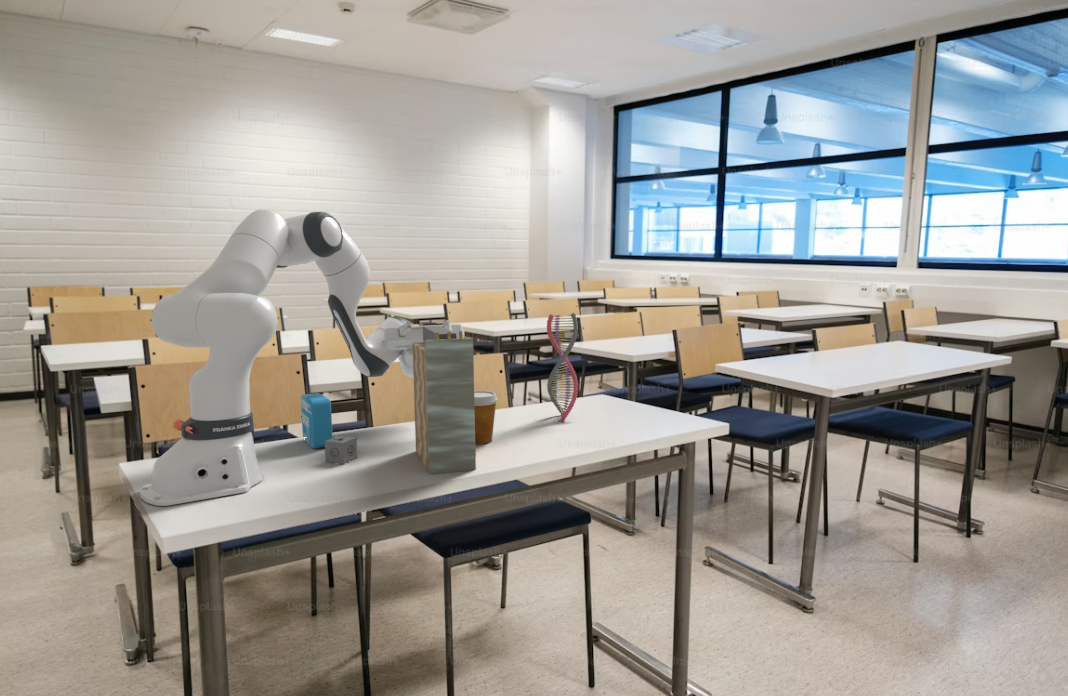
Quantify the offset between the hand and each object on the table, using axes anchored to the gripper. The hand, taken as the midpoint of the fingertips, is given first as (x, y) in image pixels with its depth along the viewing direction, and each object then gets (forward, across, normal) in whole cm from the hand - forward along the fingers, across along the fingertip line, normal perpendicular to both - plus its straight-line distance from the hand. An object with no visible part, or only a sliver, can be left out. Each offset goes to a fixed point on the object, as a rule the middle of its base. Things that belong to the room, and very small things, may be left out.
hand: (427, 323), depth 172 cm
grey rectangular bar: (+12, 0, +11) cm, 16 cm away
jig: (+1, 0, +34) cm, 35 cm away
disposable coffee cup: (-11, +11, +28) cm, 32 cm away
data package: (-21, -27, +22) cm, 41 cm away
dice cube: (-6, -22, +31) cm, 39 cm away
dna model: (-26, +40, +20) cm, 51 cm away
